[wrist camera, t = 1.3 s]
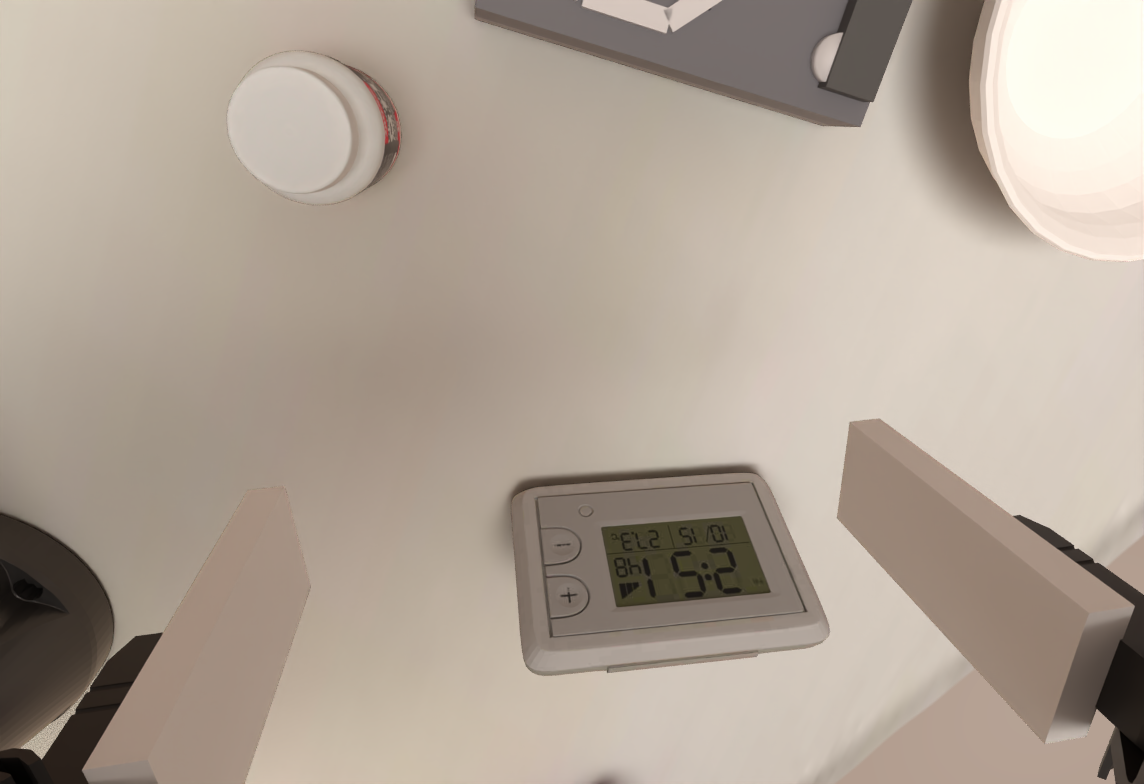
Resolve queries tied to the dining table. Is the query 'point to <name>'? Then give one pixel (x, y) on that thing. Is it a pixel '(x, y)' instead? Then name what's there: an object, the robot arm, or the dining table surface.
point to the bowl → (1065, 119)
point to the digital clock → (658, 574)
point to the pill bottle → (313, 127)
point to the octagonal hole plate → (732, 45)
